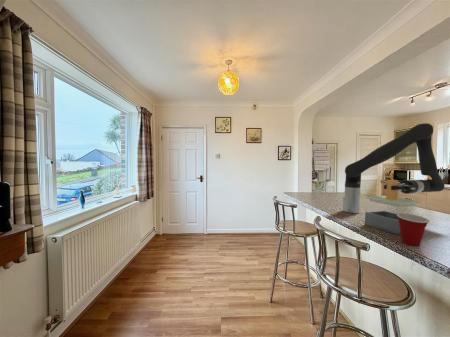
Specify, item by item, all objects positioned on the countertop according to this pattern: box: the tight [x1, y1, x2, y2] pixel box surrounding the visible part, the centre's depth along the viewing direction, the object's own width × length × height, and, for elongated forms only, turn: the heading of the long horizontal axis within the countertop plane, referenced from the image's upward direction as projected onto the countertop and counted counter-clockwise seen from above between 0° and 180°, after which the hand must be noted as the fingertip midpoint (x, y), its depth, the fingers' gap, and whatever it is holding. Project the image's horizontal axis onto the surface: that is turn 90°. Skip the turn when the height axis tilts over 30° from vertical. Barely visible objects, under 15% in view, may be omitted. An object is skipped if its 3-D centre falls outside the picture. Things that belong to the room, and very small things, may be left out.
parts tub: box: [364, 210, 401, 236], centre depth 115 cm, size 18×14×7 cm
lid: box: [365, 179, 421, 208], centre depth 115 cm, size 18×14×12 cm
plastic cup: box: [397, 212, 431, 247], centre depth 94 cm, size 11×11×12 cm
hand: (388, 187), depth 114 cm, fingers closed on lid, 3 cm apart
